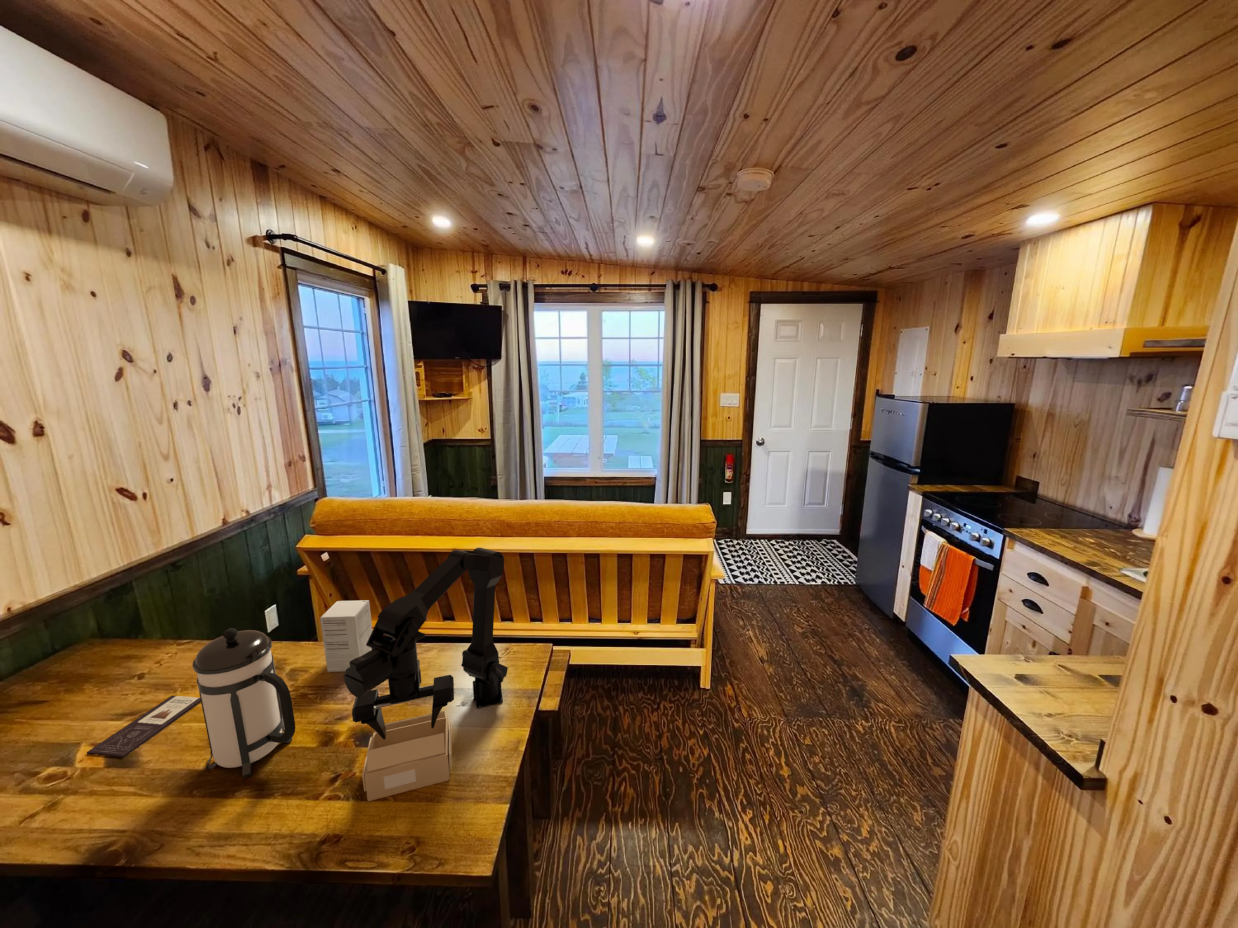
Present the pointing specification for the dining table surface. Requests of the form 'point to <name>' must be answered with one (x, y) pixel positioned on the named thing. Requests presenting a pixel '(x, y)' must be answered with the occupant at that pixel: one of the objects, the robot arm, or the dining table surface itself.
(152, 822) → the dining table surface
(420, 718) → the tan cardboard box flap
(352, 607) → the supplement box
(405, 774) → the carton
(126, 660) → the dining table surface
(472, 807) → the dining table surface
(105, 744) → the chocolate bar
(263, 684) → the coffee press
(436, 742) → the flap camera side
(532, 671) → the dining table surface
